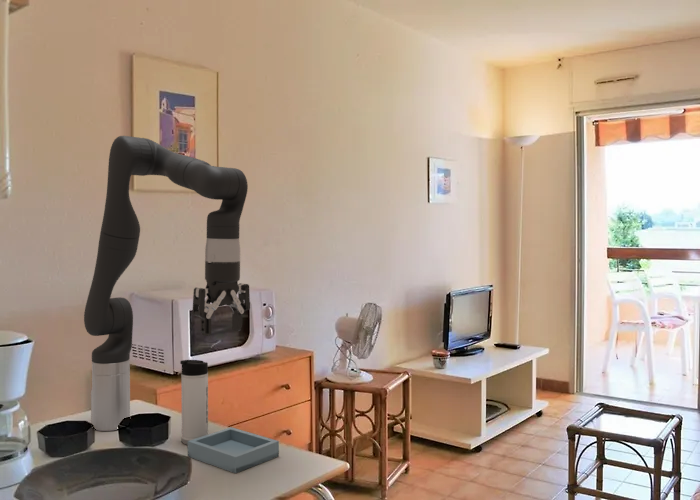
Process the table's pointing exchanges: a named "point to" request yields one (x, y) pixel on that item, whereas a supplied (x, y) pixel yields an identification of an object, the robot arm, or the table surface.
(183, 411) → the travel mug
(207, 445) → the slate tray
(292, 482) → the table surface
